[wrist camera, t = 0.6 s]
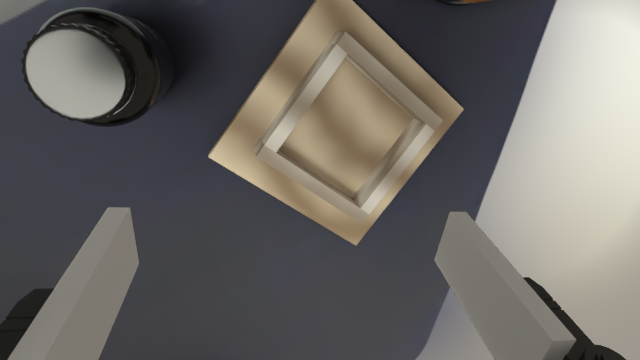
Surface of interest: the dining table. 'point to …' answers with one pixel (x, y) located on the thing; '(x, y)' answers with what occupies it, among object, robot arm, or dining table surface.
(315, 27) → the tray
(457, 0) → the supplement container
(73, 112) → the supplement bottle
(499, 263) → the robot arm
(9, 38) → the dining table surface
